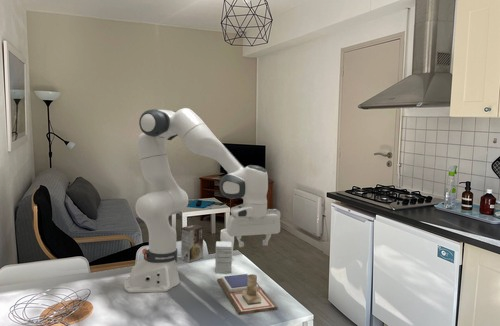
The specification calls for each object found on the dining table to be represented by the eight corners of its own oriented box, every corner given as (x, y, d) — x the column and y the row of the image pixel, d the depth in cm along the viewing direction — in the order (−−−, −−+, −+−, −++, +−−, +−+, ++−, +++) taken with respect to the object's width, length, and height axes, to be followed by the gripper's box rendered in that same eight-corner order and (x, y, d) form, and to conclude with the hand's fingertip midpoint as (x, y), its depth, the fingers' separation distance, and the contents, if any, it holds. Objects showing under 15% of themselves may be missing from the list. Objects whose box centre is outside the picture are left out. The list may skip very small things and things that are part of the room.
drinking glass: (231, 263, 185) (232, 233, 183) (218, 261, 186) (218, 231, 184) (235, 258, 191) (235, 229, 190) (221, 257, 193) (222, 228, 191)
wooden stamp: (248, 305, 141) (249, 280, 140) (242, 296, 148) (243, 273, 147) (260, 303, 143) (261, 279, 142) (254, 295, 149) (255, 271, 148)
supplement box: (215, 267, 179) (216, 241, 178) (231, 267, 180) (232, 241, 178) (214, 273, 172) (215, 246, 170) (231, 273, 172) (232, 246, 171)
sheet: (241, 311, 137) (241, 310, 137) (230, 293, 150) (230, 293, 150) (274, 306, 141) (274, 306, 141) (260, 290, 154) (260, 289, 154)
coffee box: (194, 254, 194) (195, 223, 193) (203, 258, 190) (204, 226, 189) (180, 259, 187) (181, 227, 186) (189, 263, 183) (190, 230, 182)
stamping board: (238, 315, 136) (238, 312, 136) (217, 280, 164) (217, 278, 164) (277, 309, 141) (277, 306, 141) (250, 277, 169) (250, 275, 169)
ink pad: (230, 292, 151) (230, 288, 151) (221, 279, 164) (221, 275, 163) (258, 288, 155) (258, 285, 155) (248, 276, 168) (248, 272, 167)
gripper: (277, 206, 148) (275, 241, 149) (226, 208, 141) (224, 245, 143) (284, 210, 142) (282, 246, 144) (231, 212, 135) (229, 250, 137)
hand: (253, 245), depth 143 cm, fingers open, 8 cm apart
